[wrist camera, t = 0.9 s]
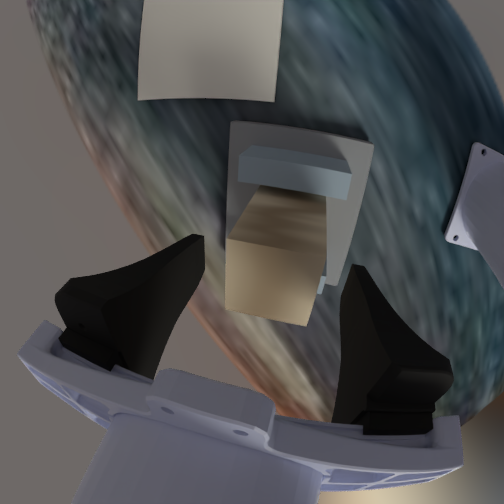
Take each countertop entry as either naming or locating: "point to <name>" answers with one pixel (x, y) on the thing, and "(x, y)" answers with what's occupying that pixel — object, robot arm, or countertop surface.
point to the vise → (301, 177)
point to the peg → (277, 255)
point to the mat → (209, 49)
